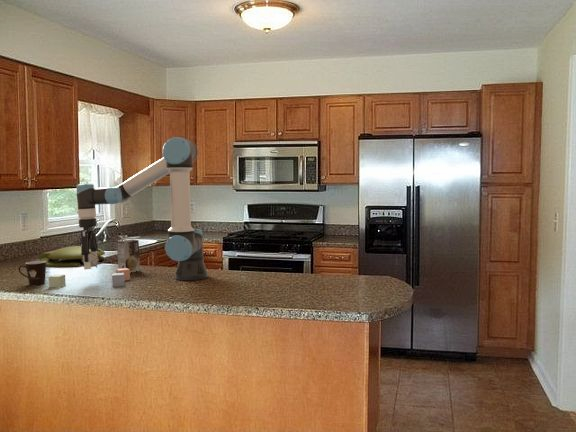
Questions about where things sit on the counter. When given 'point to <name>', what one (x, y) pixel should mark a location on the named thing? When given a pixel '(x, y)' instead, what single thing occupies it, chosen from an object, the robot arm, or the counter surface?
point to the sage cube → (57, 281)
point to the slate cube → (118, 279)
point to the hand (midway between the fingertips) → (91, 267)
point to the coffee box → (128, 255)
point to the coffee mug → (35, 272)
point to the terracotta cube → (126, 273)
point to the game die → (93, 259)
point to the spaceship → (65, 256)
